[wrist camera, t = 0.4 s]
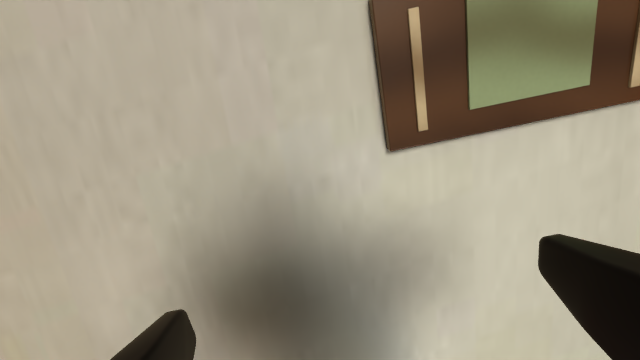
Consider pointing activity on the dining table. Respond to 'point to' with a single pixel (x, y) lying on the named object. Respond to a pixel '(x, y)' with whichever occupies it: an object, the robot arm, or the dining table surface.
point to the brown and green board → (499, 63)
